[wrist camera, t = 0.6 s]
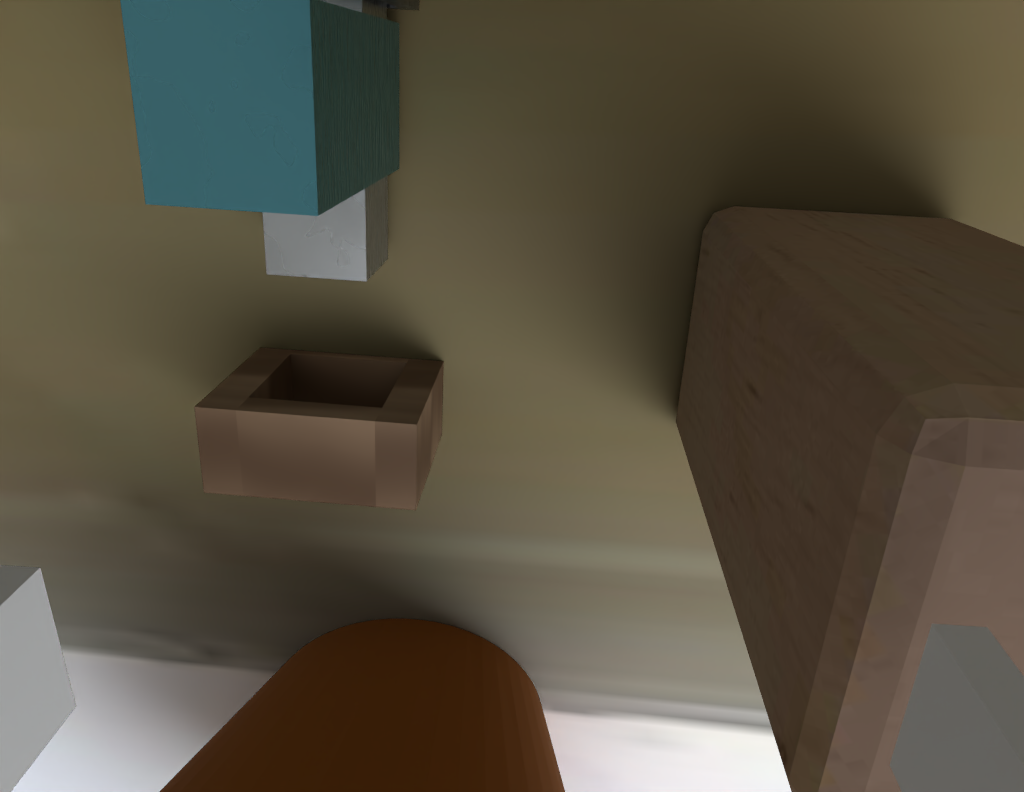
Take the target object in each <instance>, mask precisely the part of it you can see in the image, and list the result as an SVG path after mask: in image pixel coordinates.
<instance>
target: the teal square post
mask: <svg viewBox="0 0 1024 792" xmlns="http://www.w3.org/2000/svg"><path fill="white" fill-rule="evenodd" d="M120 1H121V9H122V17H123V25H124V33H125V41H126V49H127V57H128V65H129V73H130V81H131V89H132V98H133V106H134V114H135V122H136V130H137V138H138V146H139V154H140V162H141V170H142V178H143V186H144V194H145V202H146V204H151V205H166V206H180V207H195V208H209V209H223V210H238V211H252V212H263V226H264V241H265V256H266V271H267V274H271V275H284V276H298V277H312V278H326V279H340V280H353V281H367V280H368V279H369V278H370V277H371V276H372V275H373V274H374V273H375V272H376V271H377V270H378V269H379V268H380V267H381V266H382V265H383V264H384V263H385V261H386V260H387V259H388V175H389V174H391V173H393V172H394V171H396V170H398V169H399V23H397V22H393V21H390V20H387V3H385V2H382V1H380V0H120Z"/></svg>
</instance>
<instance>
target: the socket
mask: <svg viewBox="0 0 1024 792" xmlns="http://www.w3.org/2000/svg"><path fill="white" fill-rule="evenodd" d="M443 364H444V361H432V360H419V359H406V358H393V357H380V356H366V355H353V354H340V353H327V352H314V351H301V350H287V349H274V348H261V347H260V348H259V349H258V350H257V351H256V352H255V353H254V354H253V355H251V356H250V357H249V358H248V359H247V360H246V361H245V362H244V363H243V364H241V365H240V366H239V367H238V368H237V369H236V370H235V371H234V372H233V373H232V374H230V375H229V376H228V377H227V378H226V379H225V380H224V381H223V382H222V383H220V384H219V385H218V386H217V387H216V388H215V389H214V390H213V391H212V392H210V393H209V394H208V395H207V396H206V397H205V398H204V399H203V400H202V401H201V402H199V403H198V404H197V405H196V406H195V407H194V408H195V417H196V426H197V435H198V444H199V453H200V462H201V471H202V480H203V489H204V493H215V494H227V495H239V496H251V497H263V498H275V499H287V500H299V501H311V502H323V503H335V504H347V505H359V506H371V507H383V508H395V509H407V510H416V509H417V506H418V503H419V500H420V497H421V494H422V491H423V488H424V485H425V482H426V479H427V477H428V474H429V471H430V468H431V465H432V462H433V459H434V456H435V453H436V450H437V447H438V444H439V441H440V438H441V436H442V405H443Z"/></svg>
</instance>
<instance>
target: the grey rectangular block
mask: <svg viewBox="0 0 1024 792" xmlns="http://www.w3.org/2000/svg"><path fill="white" fill-rule="evenodd" d="M380 1H382V2H385V3H387V8H388V9H405V10H419V0H380Z"/></svg>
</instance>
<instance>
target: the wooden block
mask: <svg viewBox="0 0 1024 792" xmlns="http://www.w3.org/2000/svg"><path fill="white" fill-rule="evenodd" d="M676 423H677V427H678V430H679V433H680V436H681V440H682V443H683V446H684V449H685V452H686V456H687V459H688V462H689V465H690V468H691V472H692V475H693V478H694V481H695V484H696V488H697V491H698V494H699V497H700V500H701V503H702V507H703V510H704V513H705V516H706V519H707V523H708V526H709V529H710V532H711V535H712V539H713V542H714V545H715V548H716V551H717V555H718V558H719V561H720V564H721V567H722V571H723V574H724V577H725V580H726V583H727V587H728V590H729V593H730V596H731V599H732V603H733V606H734V609H735V612H736V615H737V618H738V622H739V625H740V628H741V631H742V634H743V638H744V641H745V644H746V647H747V650H748V654H749V657H750V660H751V663H752V666H753V670H754V673H755V676H756V679H757V682H758V686H759V689H760V692H761V695H762V698H763V702H764V705H765V708H766V711H767V714H768V717H769V721H770V724H771V727H772V730H773V733H774V737H775V740H776V743H777V746H778V749H779V753H780V756H781V759H782V762H783V765H784V769H785V772H786V775H787V778H788V781H789V785H790V788H791V791H792V792H902V791H901V789H900V787H899V785H898V782H897V780H896V778H895V776H894V774H893V771H892V769H891V767H890V762H891V759H892V755H893V752H894V749H895V745H896V742H897V738H898V735H899V732H900V728H901V725H902V722H903V718H904V715H905V712H906V708H907V705H908V702H909V698H910V695H911V692H912V688H913V685H914V682H915V678H916V675H917V672H918V668H919V665H920V662H921V658H922V655H923V652H924V648H925V645H926V642H927V638H928V635H929V632H930V628H931V625H932V624H945V625H961V626H977V627H987V628H988V629H989V630H990V632H991V633H992V634H993V636H994V637H995V638H996V640H997V641H998V642H999V644H1000V645H1001V646H1002V648H1003V649H1004V650H1005V652H1006V653H1007V655H1008V656H1009V657H1010V659H1011V660H1012V661H1013V663H1014V664H1015V665H1016V667H1017V668H1018V669H1019V671H1020V672H1021V673H1022V675H1023V676H1024V247H1023V246H1020V245H1018V244H1015V243H1012V242H1010V241H1007V240H1005V239H1002V238H999V237H997V236H994V235H992V234H989V233H986V232H984V231H981V230H979V229H976V228H973V227H971V226H968V225H966V224H963V223H960V222H958V221H955V220H953V219H946V218H929V217H912V216H894V215H877V214H860V213H842V212H825V211H808V210H791V209H773V208H756V207H739V206H733V207H730V208H727V209H724V210H721V211H718V212H715V213H713V215H712V216H711V218H710V220H709V222H708V223H707V225H706V227H705V229H704V230H703V235H702V242H701V249H700V256H699V263H698V270H697V277H696V284H695V291H694V298H693V305H692V312H691V319H690V326H689V333H688V340H687V348H686V355H685V362H684V369H683V376H682V383H681V390H680V397H679V404H678V411H677V418H676Z"/></svg>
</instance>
